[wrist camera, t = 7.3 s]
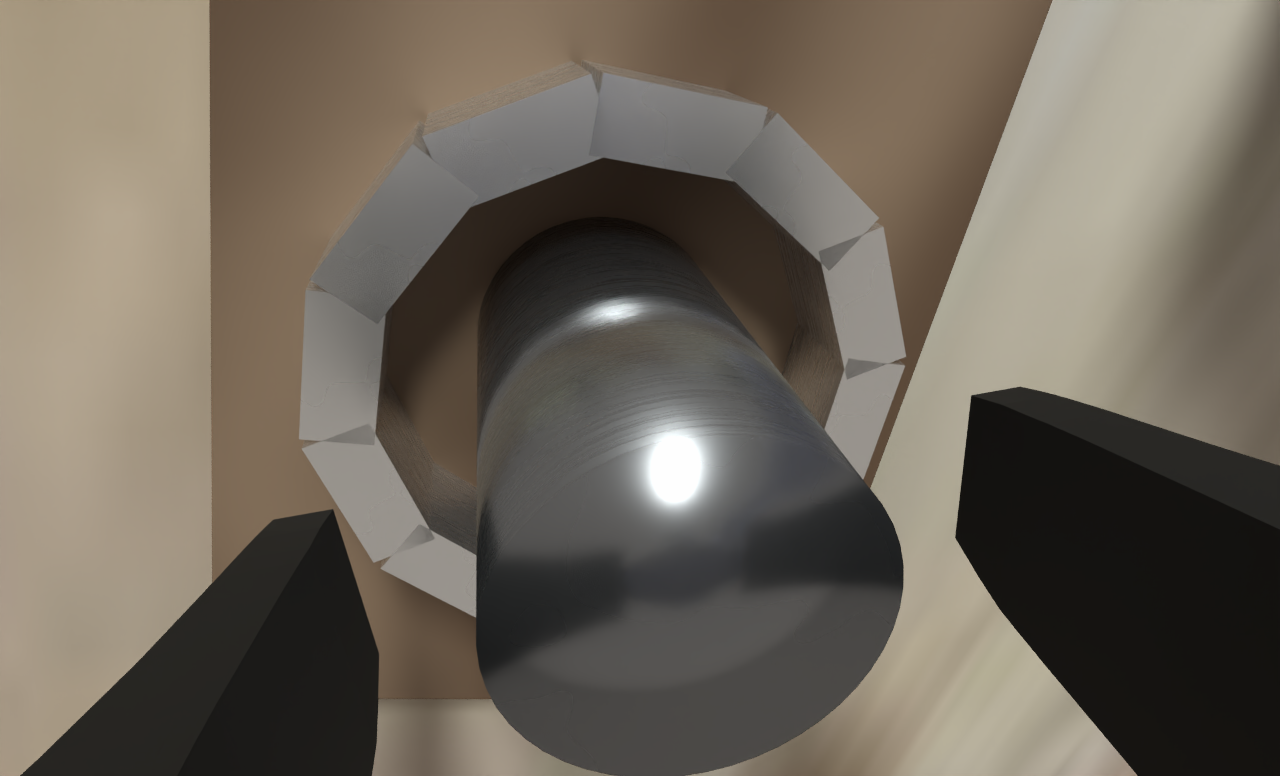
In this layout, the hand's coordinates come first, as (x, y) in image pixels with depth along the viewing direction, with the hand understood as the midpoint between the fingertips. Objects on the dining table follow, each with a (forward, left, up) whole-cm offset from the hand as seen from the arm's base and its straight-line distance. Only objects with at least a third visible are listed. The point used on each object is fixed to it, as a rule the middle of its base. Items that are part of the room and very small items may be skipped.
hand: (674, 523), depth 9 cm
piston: (0, 0, -5) cm, 5 cm away
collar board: (0, 0, -6) cm, 6 cm away
